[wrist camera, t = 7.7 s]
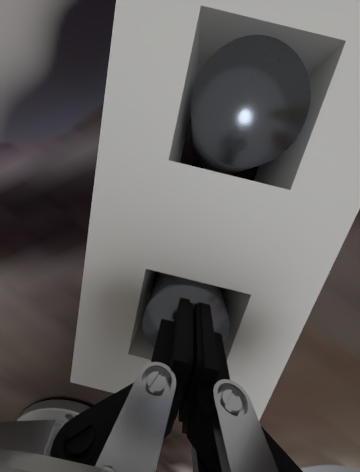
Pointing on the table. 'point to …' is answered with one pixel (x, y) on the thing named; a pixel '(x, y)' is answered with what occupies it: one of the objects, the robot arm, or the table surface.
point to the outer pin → (248, 104)
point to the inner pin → (167, 302)
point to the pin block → (216, 188)
